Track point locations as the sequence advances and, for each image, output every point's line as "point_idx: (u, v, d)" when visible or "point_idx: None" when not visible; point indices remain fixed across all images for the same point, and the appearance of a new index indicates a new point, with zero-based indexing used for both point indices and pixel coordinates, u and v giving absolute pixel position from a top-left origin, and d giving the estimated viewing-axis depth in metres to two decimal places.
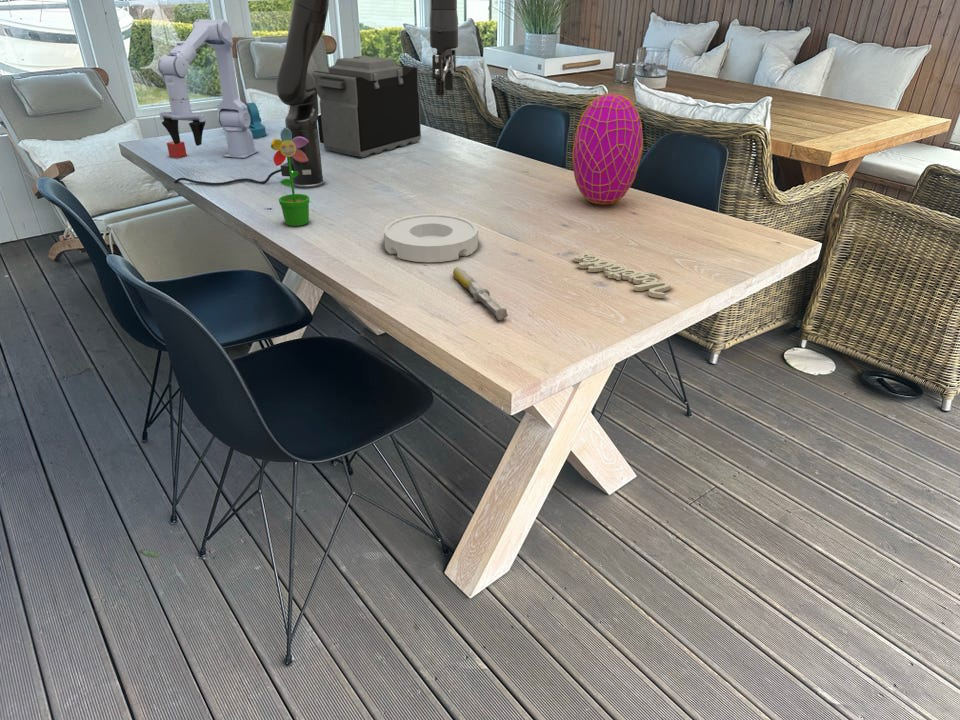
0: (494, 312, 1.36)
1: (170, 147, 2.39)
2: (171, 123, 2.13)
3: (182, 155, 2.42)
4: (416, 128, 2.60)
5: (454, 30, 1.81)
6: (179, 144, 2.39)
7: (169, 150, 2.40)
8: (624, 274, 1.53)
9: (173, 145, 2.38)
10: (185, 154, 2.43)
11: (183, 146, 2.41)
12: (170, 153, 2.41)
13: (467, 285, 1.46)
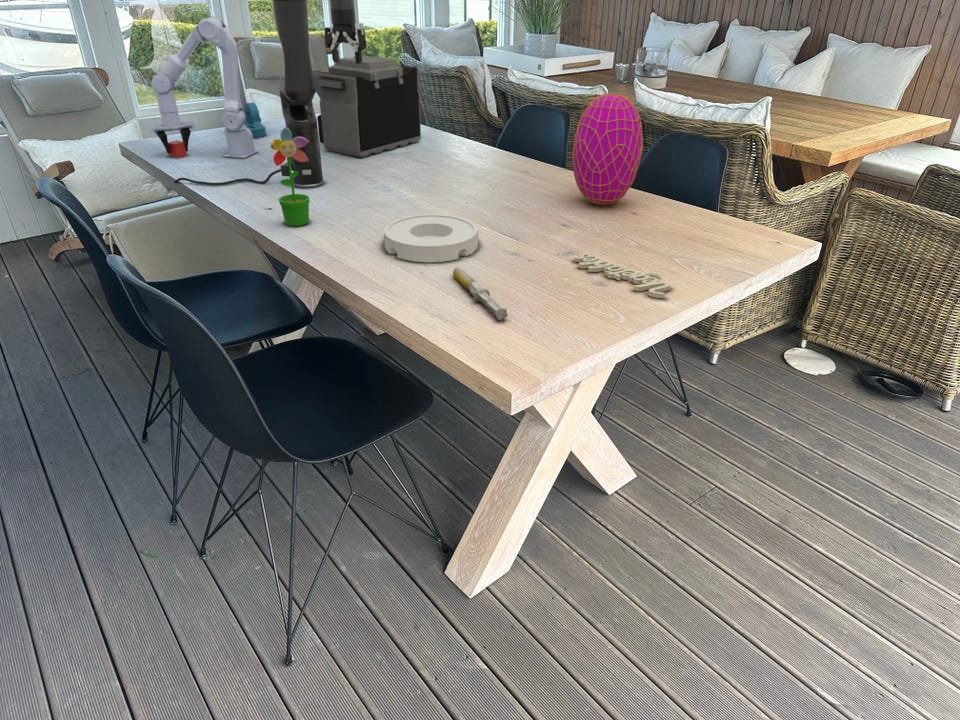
0: (494, 312, 1.36)
1: (171, 147, 2.39)
2: None
3: (182, 155, 2.42)
4: (416, 128, 2.60)
5: (332, 9, 2.14)
6: (179, 144, 2.39)
7: None
8: (624, 274, 1.53)
9: (173, 145, 2.38)
10: (185, 154, 2.43)
11: (184, 146, 2.41)
12: (170, 153, 2.41)
13: (467, 285, 1.46)
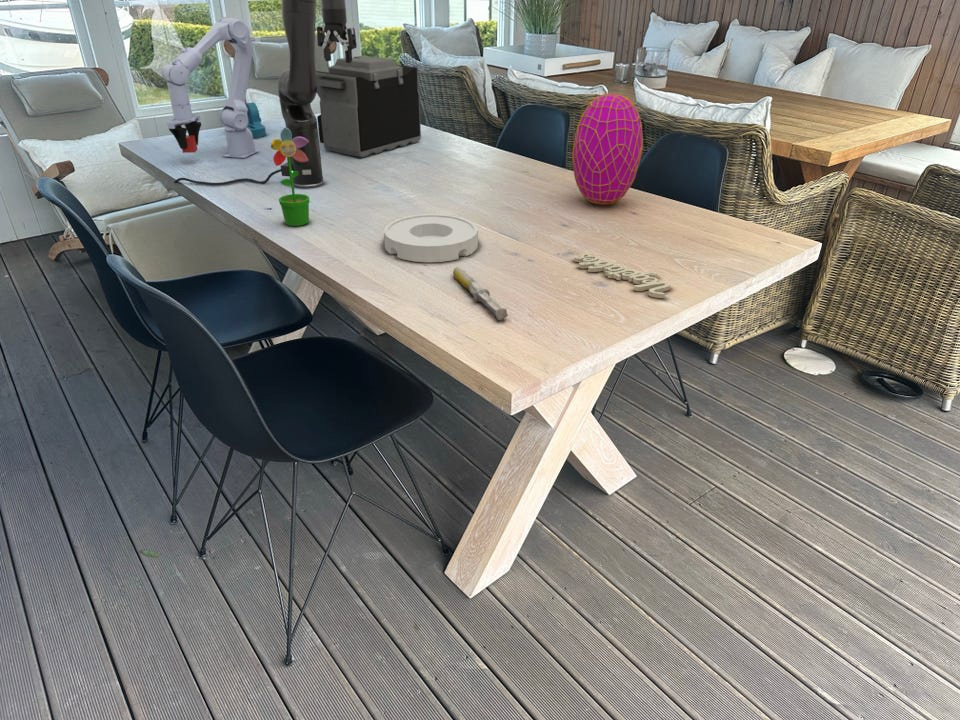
0: (494, 312, 1.36)
1: None
2: None
3: (196, 149, 2.32)
4: (416, 128, 2.60)
5: (323, 8, 2.17)
6: (193, 137, 2.30)
7: None
8: (624, 274, 1.53)
9: (190, 139, 2.28)
10: None
11: (195, 139, 2.32)
12: (184, 149, 2.29)
13: (467, 285, 1.46)
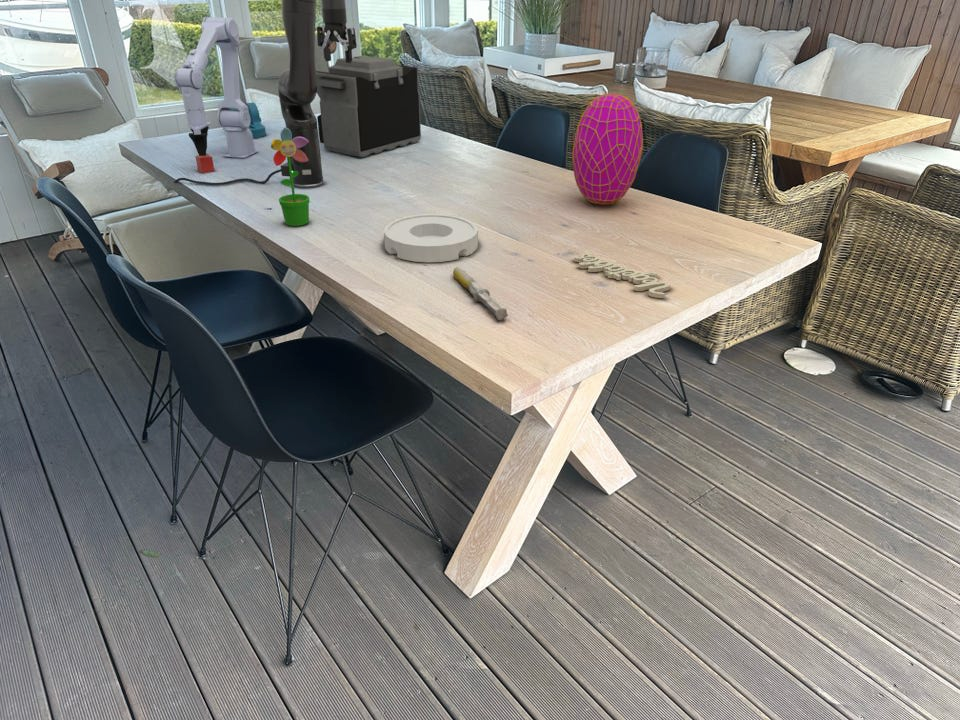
0: (494, 312, 1.36)
1: (206, 161, 2.23)
2: None
3: None
4: (416, 128, 2.60)
5: (323, 8, 2.17)
6: None
7: (203, 165, 2.23)
8: (624, 274, 1.53)
9: (210, 158, 2.24)
10: None
11: None
12: (204, 168, 2.24)
13: (467, 285, 1.46)
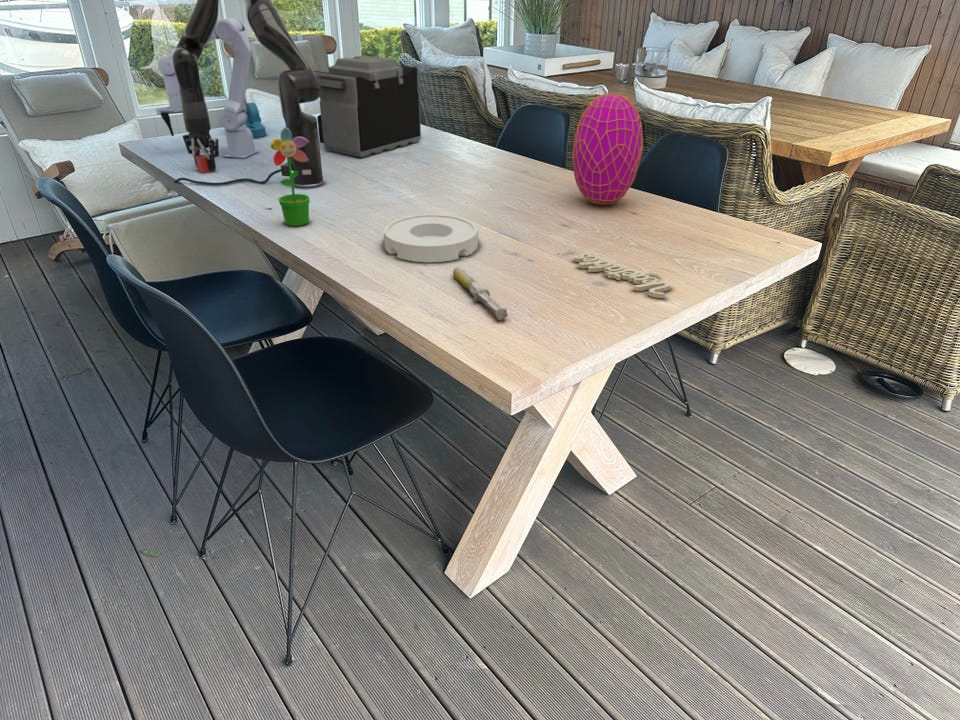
0: (494, 312, 1.36)
1: (206, 161, 2.23)
2: None
3: None
4: (416, 128, 2.60)
5: (184, 117, 2.16)
6: None
7: (203, 165, 2.23)
8: (624, 274, 1.53)
9: None
10: None
11: None
12: (204, 168, 2.24)
13: (467, 285, 1.46)
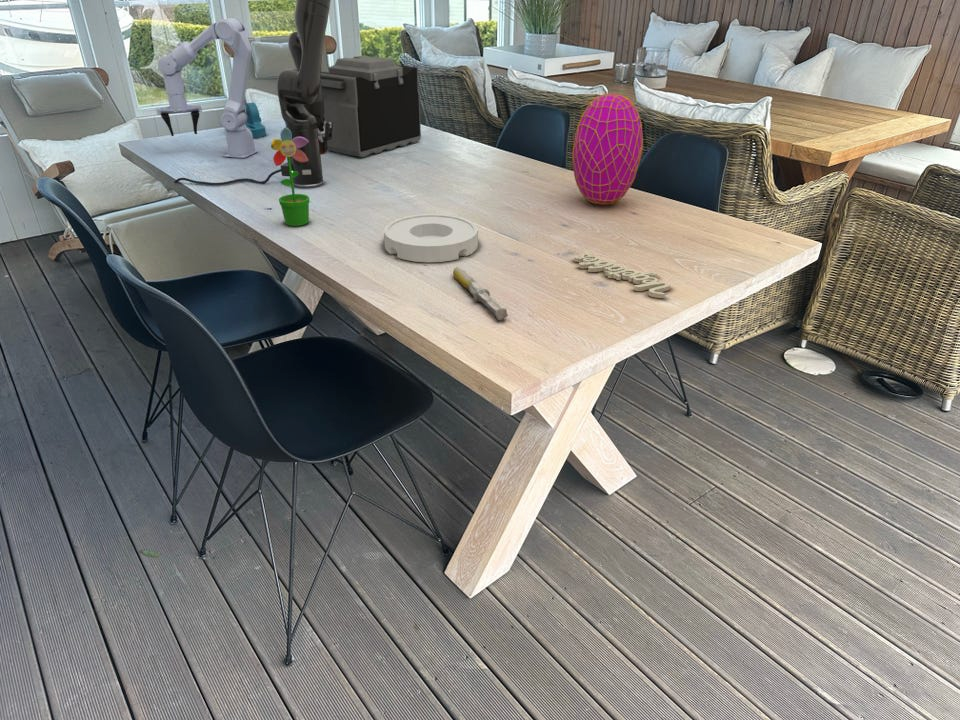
0: (494, 312, 1.36)
1: (319, 144, 2.27)
2: None
3: None
4: (416, 128, 2.60)
5: None
6: None
7: None
8: (624, 274, 1.53)
9: None
10: None
11: None
12: None
13: (467, 285, 1.46)
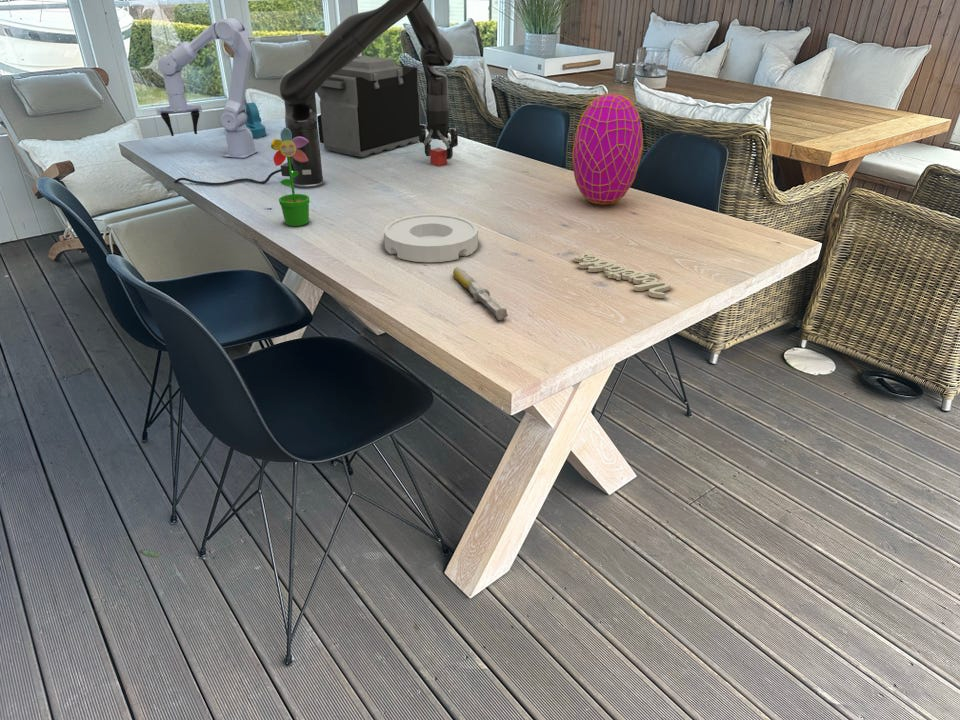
0: (494, 312, 1.36)
1: (442, 154, 2.34)
2: None
3: None
4: (416, 128, 2.60)
5: (428, 110, 2.26)
6: None
7: (439, 159, 2.34)
8: (624, 274, 1.53)
9: (445, 151, 2.35)
10: None
11: None
12: (440, 161, 2.35)
13: (467, 285, 1.46)
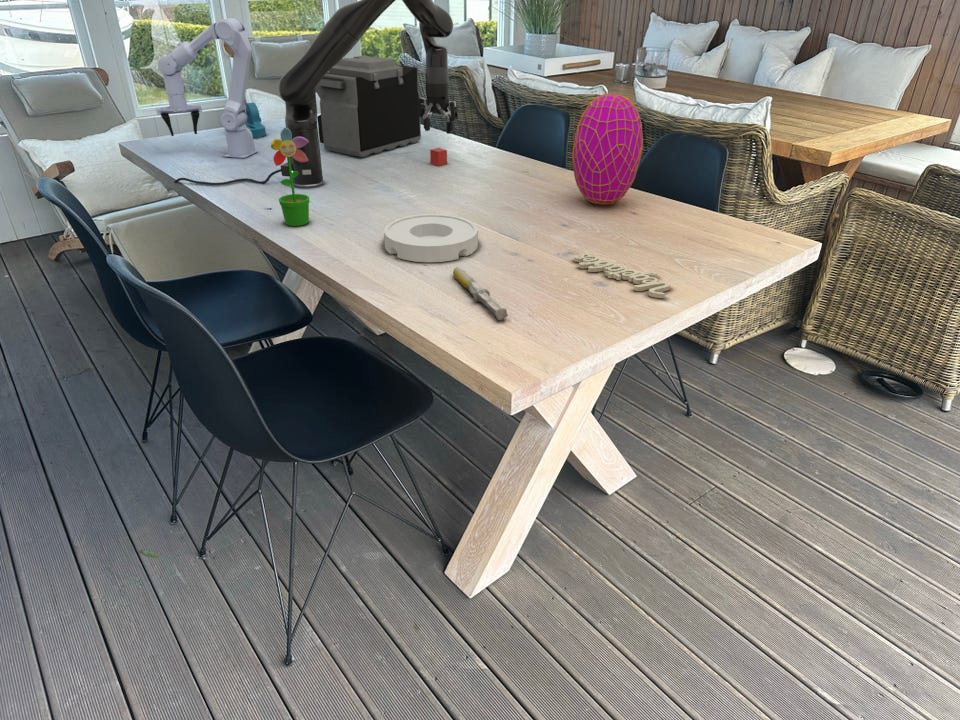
0: (494, 312, 1.36)
1: (442, 154, 2.34)
2: None
3: None
4: (416, 128, 2.60)
5: (427, 82, 2.22)
6: None
7: (439, 159, 2.34)
8: (624, 274, 1.53)
9: (445, 151, 2.35)
10: None
11: None
12: (440, 161, 2.35)
13: (467, 285, 1.46)
